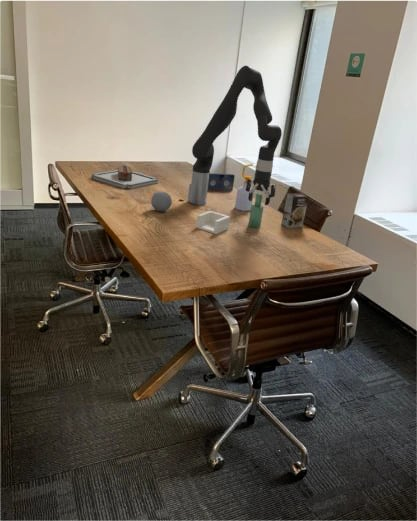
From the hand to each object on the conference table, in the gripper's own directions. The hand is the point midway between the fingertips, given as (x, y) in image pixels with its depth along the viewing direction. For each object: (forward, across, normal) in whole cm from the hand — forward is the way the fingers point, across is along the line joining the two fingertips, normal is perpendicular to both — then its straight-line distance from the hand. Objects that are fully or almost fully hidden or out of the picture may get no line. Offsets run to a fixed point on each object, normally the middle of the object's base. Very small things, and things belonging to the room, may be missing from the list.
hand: (258, 202), depth 214 cm
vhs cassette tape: (+12, +48, -45) cm, 67 cm away
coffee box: (+12, -13, -17) cm, 24 cm away
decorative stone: (+12, +43, +19) cm, 49 cm away
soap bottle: (+12, +18, -22) cm, 31 cm away
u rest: (+12, +12, +20) cm, 26 cm away
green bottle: (+12, 0, 0) cm, 12 cm away
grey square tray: (+12, +93, -11) cm, 95 cm away
